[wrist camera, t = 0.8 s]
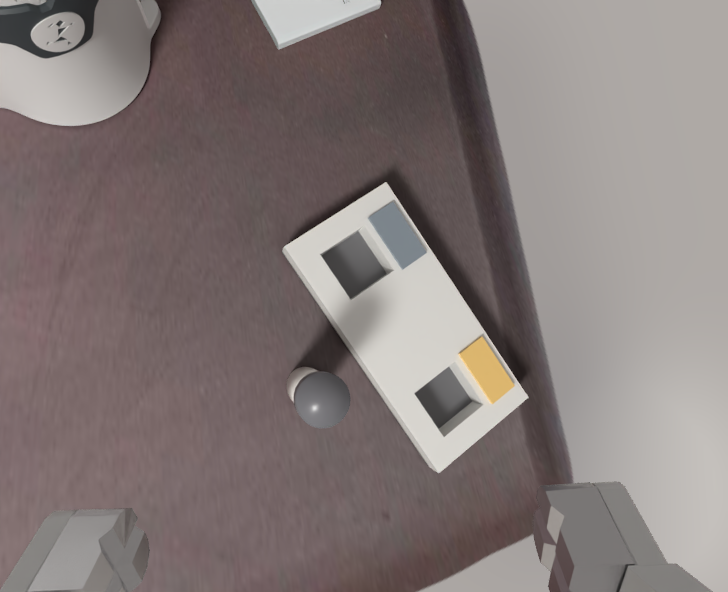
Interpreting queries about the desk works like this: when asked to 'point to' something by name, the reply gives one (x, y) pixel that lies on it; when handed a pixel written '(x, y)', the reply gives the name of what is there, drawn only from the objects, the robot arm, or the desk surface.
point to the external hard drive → (308, 16)
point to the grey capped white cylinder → (318, 396)
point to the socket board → (406, 325)
